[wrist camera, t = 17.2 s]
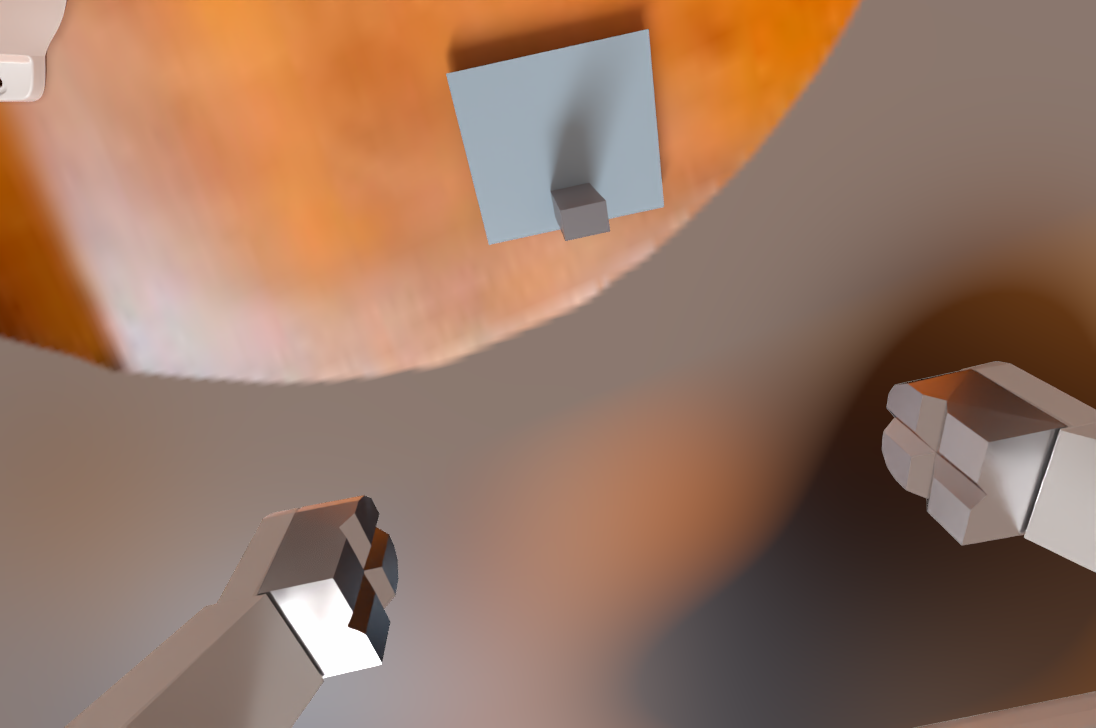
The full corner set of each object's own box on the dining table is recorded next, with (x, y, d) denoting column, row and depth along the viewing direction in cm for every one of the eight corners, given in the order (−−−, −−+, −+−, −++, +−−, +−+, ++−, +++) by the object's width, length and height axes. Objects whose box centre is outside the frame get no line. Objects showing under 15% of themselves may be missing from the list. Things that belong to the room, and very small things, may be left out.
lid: (489, 238, 43) (487, 272, 36) (448, 74, 38) (435, 72, 30) (657, 201, 43) (693, 228, 35) (641, 31, 38) (680, 17, 30)
